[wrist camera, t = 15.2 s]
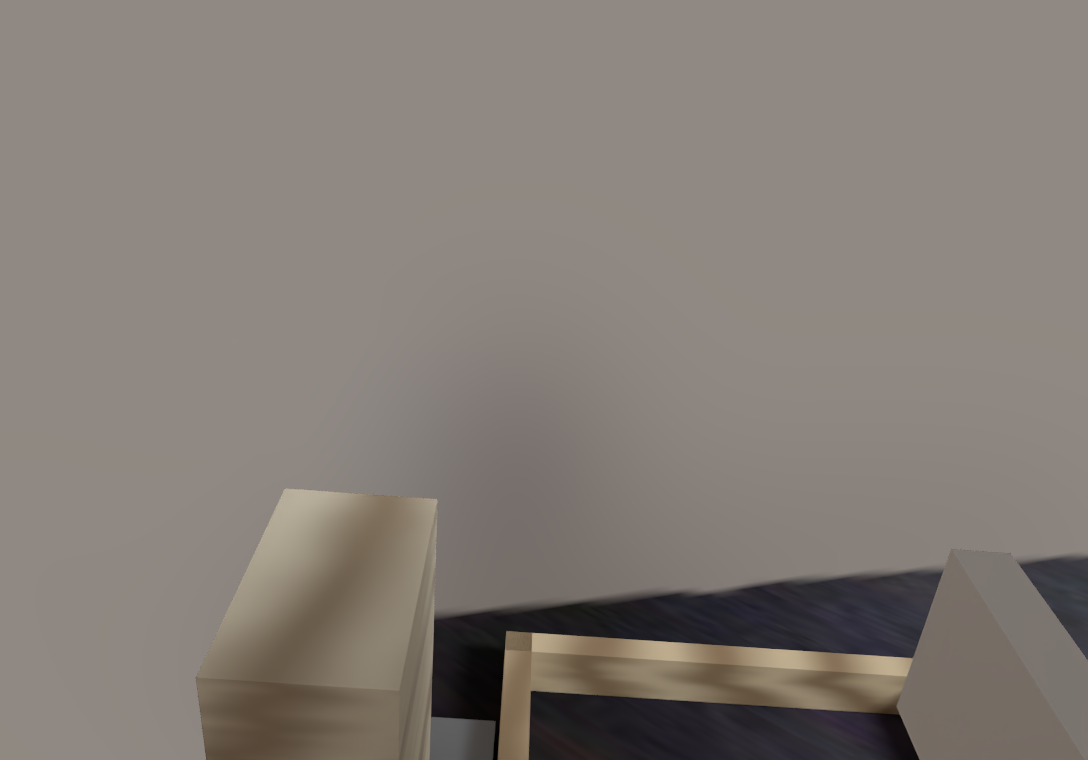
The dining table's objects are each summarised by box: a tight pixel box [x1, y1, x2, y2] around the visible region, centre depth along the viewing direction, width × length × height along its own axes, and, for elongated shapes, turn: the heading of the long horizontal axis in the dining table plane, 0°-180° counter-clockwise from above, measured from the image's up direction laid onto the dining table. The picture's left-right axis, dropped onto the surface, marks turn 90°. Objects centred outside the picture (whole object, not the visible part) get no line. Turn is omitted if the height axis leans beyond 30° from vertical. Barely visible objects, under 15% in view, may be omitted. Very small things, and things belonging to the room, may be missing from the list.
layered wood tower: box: [196, 489, 437, 760], centre depth 35 cm, size 6×10×18 cm, turn 179°
